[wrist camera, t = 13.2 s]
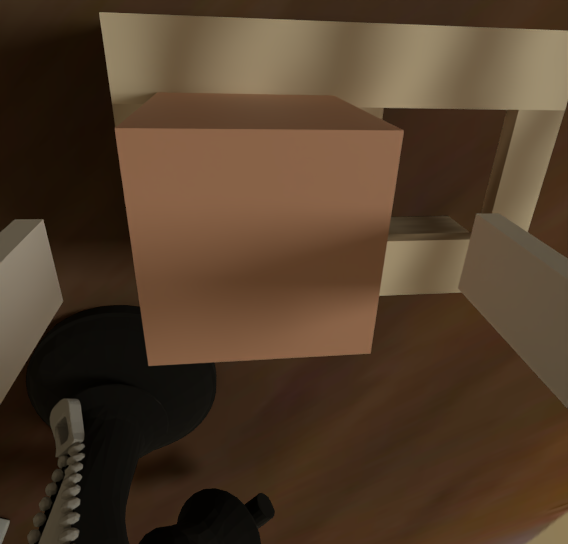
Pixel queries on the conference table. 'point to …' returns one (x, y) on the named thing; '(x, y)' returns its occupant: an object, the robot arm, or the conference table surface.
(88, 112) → the conference table surface
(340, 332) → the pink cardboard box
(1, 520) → the tea box
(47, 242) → the robot arm
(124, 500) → the sculpture
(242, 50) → the mottled slotted frame
